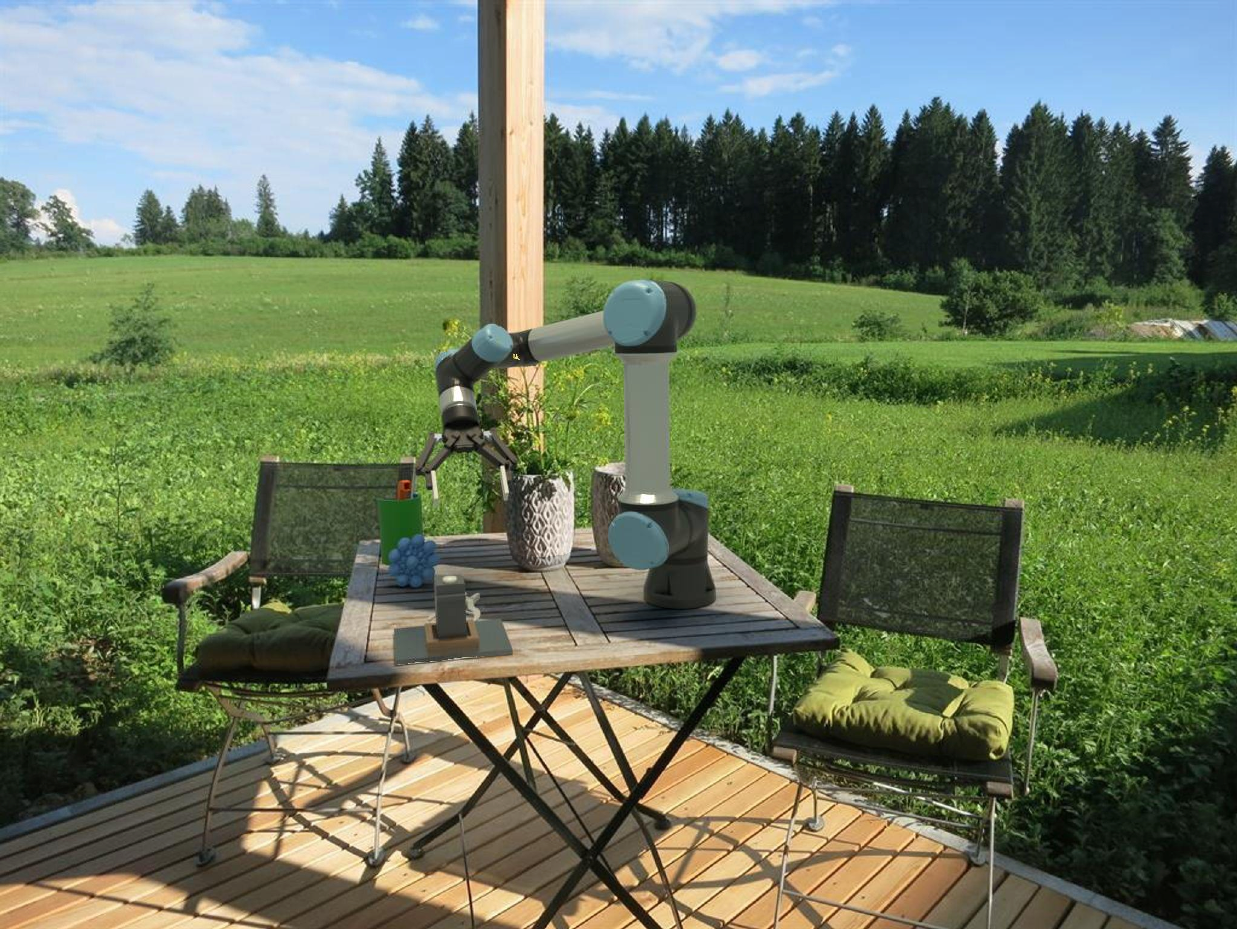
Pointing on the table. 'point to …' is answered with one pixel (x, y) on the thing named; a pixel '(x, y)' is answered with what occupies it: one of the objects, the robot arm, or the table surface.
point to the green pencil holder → (399, 519)
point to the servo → (450, 606)
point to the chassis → (451, 642)
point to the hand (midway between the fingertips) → (471, 499)
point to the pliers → (470, 603)
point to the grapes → (413, 561)
